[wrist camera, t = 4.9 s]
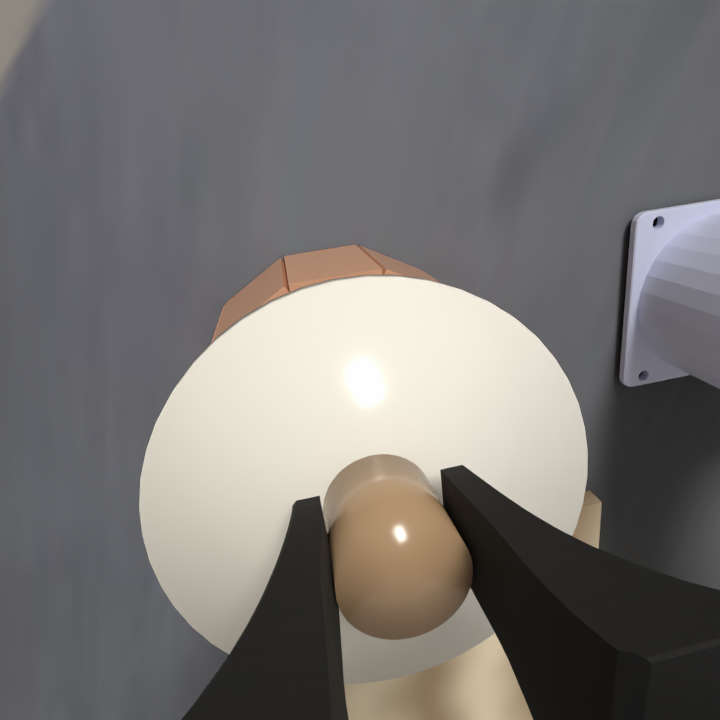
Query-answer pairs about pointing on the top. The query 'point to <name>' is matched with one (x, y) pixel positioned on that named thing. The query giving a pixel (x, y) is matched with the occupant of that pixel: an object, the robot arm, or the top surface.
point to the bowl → (310, 277)
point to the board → (460, 674)
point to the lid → (357, 460)
